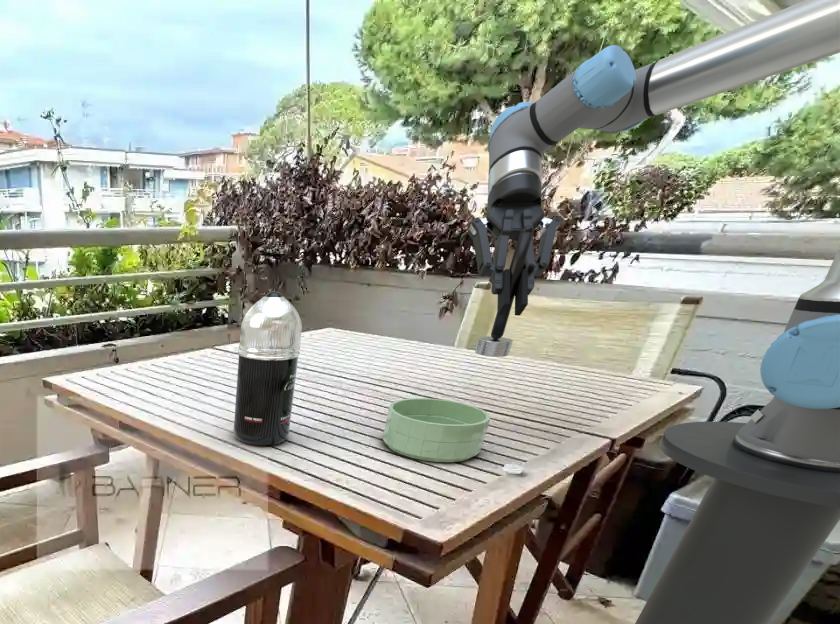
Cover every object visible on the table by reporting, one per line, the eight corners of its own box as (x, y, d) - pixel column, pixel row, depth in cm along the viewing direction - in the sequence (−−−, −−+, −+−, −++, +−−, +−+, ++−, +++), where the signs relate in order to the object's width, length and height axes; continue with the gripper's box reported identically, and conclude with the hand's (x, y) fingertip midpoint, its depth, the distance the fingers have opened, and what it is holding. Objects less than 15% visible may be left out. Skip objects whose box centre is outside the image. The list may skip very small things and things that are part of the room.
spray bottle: (223, 441, 99) (232, 293, 87) (244, 425, 107) (255, 286, 94) (278, 452, 94) (295, 296, 82) (296, 434, 102) (315, 289, 90)
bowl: (491, 446, 95) (502, 410, 92) (460, 471, 86) (471, 432, 82) (403, 427, 104) (410, 393, 101) (366, 448, 95) (374, 411, 92)
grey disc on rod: (512, 353, 93) (551, 225, 84) (503, 358, 90) (543, 225, 81) (480, 349, 96) (515, 225, 87) (470, 354, 93) (505, 225, 84)
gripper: (553, 208, 94) (554, 326, 88) (457, 210, 97) (452, 323, 91) (577, 168, 87) (579, 294, 81) (473, 172, 90) (468, 292, 84)
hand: (512, 309), depth 86 cm, fingers closed on grey disc on rod, 2 cm apart
